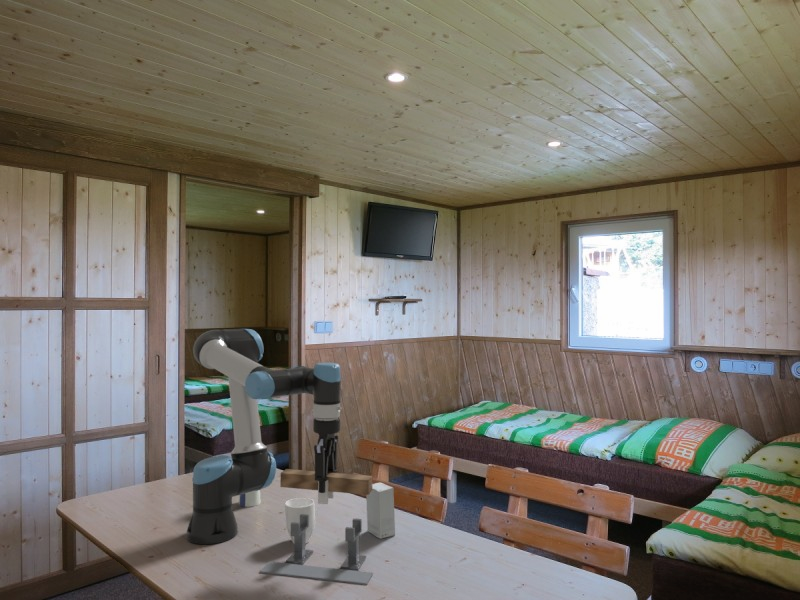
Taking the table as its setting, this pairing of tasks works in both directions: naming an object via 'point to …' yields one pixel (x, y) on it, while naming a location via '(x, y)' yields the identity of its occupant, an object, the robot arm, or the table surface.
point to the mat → (317, 572)
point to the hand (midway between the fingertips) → (325, 500)
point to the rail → (335, 481)
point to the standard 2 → (353, 546)
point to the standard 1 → (299, 541)
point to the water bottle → (250, 499)
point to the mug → (296, 509)
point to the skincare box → (381, 511)
